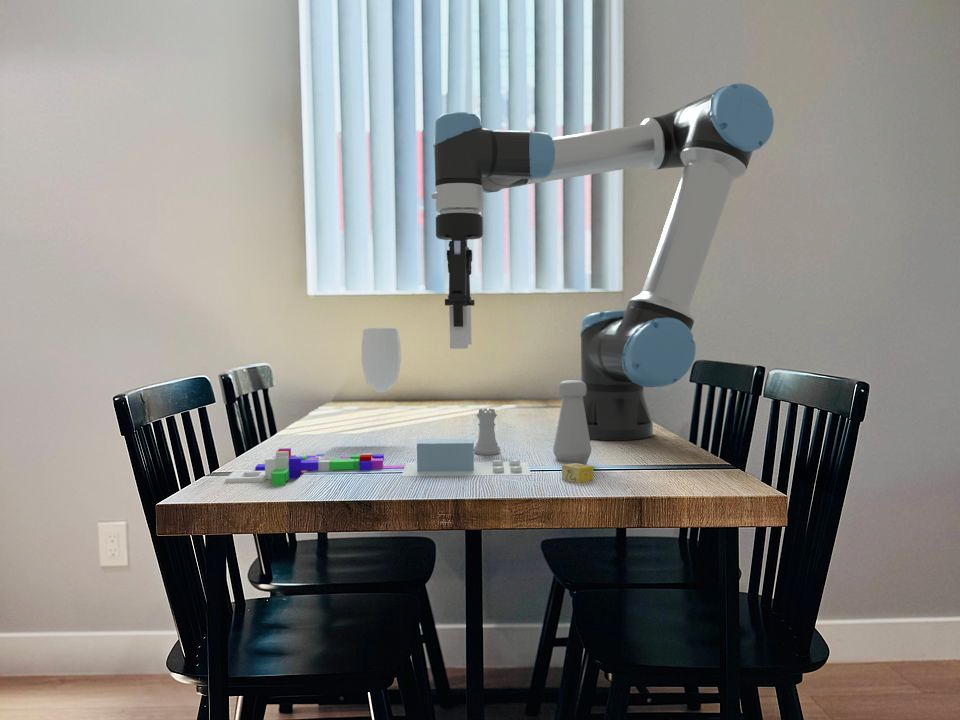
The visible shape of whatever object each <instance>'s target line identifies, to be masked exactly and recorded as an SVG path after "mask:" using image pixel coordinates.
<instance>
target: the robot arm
mask: <svg viewBox="0 0 960 720" xmlns="http://www.w3.org/2000/svg"><path fill="white" fill-rule="evenodd" d="M774 119H775V118H774V112H773V108H772V107H770V104H769V100H768V99H767V97H766V96H765V95H764V93H763V92H761V91H760V90H759V89H758V88H756V87H754V86H752V85H750V84H747V83H742V82H741V83H739V82H738V83H732V84H729V85H724V86H721V87H719V88H717V89H716V90H715V91H714V92H712V93H710V94H707V95H705V96H703V97H701V98H699V99H697V100H694V101H692V102H690V103H687V104H686V105H684V106H681V107H680V108H677V109H676V110H673V111H670V112H668V113H665V114H662V115H659V116H654V117H653V116H652V117H648V118H645V119H644V120H643V121H642V122H641V123H640V124H637V125H631V126H630V125H629V126H624V127H618V128H617V127H616V128H612V129H611V128H609V129H603V130H597V131H596V130H595V131H591V132H583V133H577V134H576V133H575V134H570V135H569V134H568V135H564V136H563V135H562V136H556V137H551V135H550V134H549V133H547V132H540V131H533V130H531V129H530V130H527V131H526V130H506V129H505V130H504V129H489V128H484V127H483V125H482V119H481V117H480V116H479V115H478V114H476V113H469V112H468V111H465V112H464V111H453V112H447V113H444V114H441V115H440V116H438V117H437V118H436V119H435V122H434V131H433V132H434V134H433V135H434V136H433V137H434V138H433V152H434V153H433V155H434V157H433V158H434V176H435V177H434V179H435V181H434V185H435V187H434V189H435V191H436V192H433V193H432V194H431V197H430V198H431V199H432V200H435V211H436V212H437V213H438V215H436V216H435V236H436V238H437V239H438V240H443V241H449V242H448V248H449V249H446V259H447V260H446V261H447V273H448V295H447V298H445V299H444V306H446V307H447V306H448V307H449V312H448V314H449V349H451V350H452V349H454V350H455V349H458V350H459V349H464V350H465V349H469V345H472V307H473V306H475V299H472V297H471V284H470V283H471V280H470V279H471V277H470V275H472V262H473V251H472V249H470V247H469V246H468V240H478V239H481V238H482V237H483V235H484V231H483V229H484V226H483V224H484V223H483V222H484V221H483V220H484V219H483V216H482V215H481V214H480V213H481V212H482V211H483V210H484V207H483V206H484V204H483V203H484V201H483V193H486V194H487V193H488V194H489V193H497V192H499V191H501V190H503V189H509V188H515V187H521V186H525V185H527V186H528V185H532V184H539V183H544V182H545V183H546V182H553V181H558V180H564V179H572V178H576V177H578V178H579V177H584V176H589V175H596V174H603V173H607V172H608V173H609V172H615V171H616V172H617V171H621V170H628V169H629V170H630V169H635V168H641V167H645V168H646V169H647V170H649V171H655V170H664V169H675V168H684V169H683V172H682V174H681V178H680V181H679V183H678V186H677V189H676V192H675V194H674V197H673V201H672V204H671V206H670V210H669V212H668V215H667V218H666V220H665V224H664V226H663V229H662V233H661V236H660V239H659V241H658V244H657V247H656V250H655V252H654V256H653V258H652V261H651V264H650V267H649V270H648V273H647V276H646V278H645V282H644V285H643V288H642V290H641V292H640V293H639V294H638V295H635V296H634V297H632V298H630V299H629V300H628V303H627V305H626V306H627V307H626V308H625V309H624V310H607V311H606V310H605V311H598V312H593V313H589V314H587V315H585V316H584V317H583V319H582V321H581V329H580V338H581V339H580V341H581V342H580V345H581V346H580V352H581V353H580V355H581V357H580V358H581V359H580V360H581V361H580V362H581V366H580V367H581V371H580V374H581V379H580V381H583V382H584V383H585V384H586V388H587V391H586V395H585V396H583V402H584V408H585V414H586V420H587V426H588V432H589V438H590V439H592V440H602V441H603V440H604V441H605V440H607V441H627V440H629V441H630V440H639V439H640V440H641V439H645V438H650V437H652V436H653V435H654V431H653V430H654V424H653V420H652V417H651V414H650V411H649V408H648V405H647V402H646V399H645V395H644V394H645V393H644V388H656V387H657V388H659V387H660V388H661V387H666V386H667V387H668V386H670V385H672V384H675V383H677V382H678V381H680V380H681V379H682V378H684V377H685V376H686V375H687V373H688V372H689V370H690V369H691V368H692V365H693V363H694V361H695V357H696V349H697V347H696V342H695V341H694V334H693V333H692V329H693V326H694V323H695V318H694V316H693V314H692V313H691V310H690V306H691V304H692V301H693V298H694V296H695V292H696V288H697V286H698V283H699V280H700V277H701V274H702V273H703V269H704V266H705V263H706V261H707V258H708V254H709V251H710V249H711V246H712V242H713V239H714V237H715V234H716V232H717V229H718V225H719V223H720V220H721V217H722V214H723V211H724V208H725V205H726V202H727V200H728V197H729V194H730V191H731V188H732V186H733V182H734V180H737V179H739V178H741V177H743V176H745V174H746V172H747V170H748V166H749V164H750V161H751V158H752V155H753V152H754V151H757V150H760V149H761V148H762V147H763V146H764V145H765V144H766V143H768V141H769V140H770V138H771V136H772V134H773V130H774V123H775V121H774Z"/></svg>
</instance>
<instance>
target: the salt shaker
mask: <svg viewBox="0 0 960 720" xmlns="http://www.w3.org/2000/svg"><path fill="white" fill-rule="evenodd" d="M557 391H558V392H557V394H558V395H559V396H560V397H562V399H561V405H560V409H559V417H558V422H557V427H556V433H555V438H554V443H553V449H552V451H553V454H554V456H555V459H556V460H557V461H560V462H566V463H567V462H568V463H579V462H580V464H583V465H587V464H588V461H589V458H590V456H591V454H592V445H591V440H590V438H589V432H588V426H587V420H586V414H585V408H584V402H583V396H585V395H586V391H587V388H586V384H585V383H584V382H583V381H581V380H575V379H574V380H573V379H570V380H569V379H568V380H562V381H560V383H558V387H557Z"/></svg>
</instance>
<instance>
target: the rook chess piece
mask: <svg viewBox="0 0 960 720" xmlns="http://www.w3.org/2000/svg"><path fill="white" fill-rule="evenodd" d="M476 416H477V419H478V420H479V423H478V424H477V425H478V427H479V429H478V436H477V437H478V439H477V443H475V444H476V445H475V446H474V454H476V455H483V456H491V455H492V456H493V455H498V454H499V453H500V452H501V447H500V446H498V442H497V439H496V434H495V433H496V432H495V426H496V424H495V419H496V418H497V416H498V414H497V413H496V412H495V408H479V409H478V412H477V414H476Z"/></svg>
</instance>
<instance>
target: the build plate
mask: <svg viewBox="0 0 960 720" xmlns="http://www.w3.org/2000/svg"><path fill="white" fill-rule="evenodd" d="M487 476H488V477H490V476H491V477H495V476H498V477H501V476H502V477H504V476H506V477H507V476H508V477H510V476H516V477H517V476H522V477H523V476H532V473H531V469H530V466H529V463H528V461H521V460H519V459H511V460H509V461H504V460H501V459H494V460H491V461H474V471H436V472H417V461H416V462H412V461H411V462H407V463H406V466H404V468H403V471H402V472H401V476H400V477H487Z"/></svg>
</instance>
